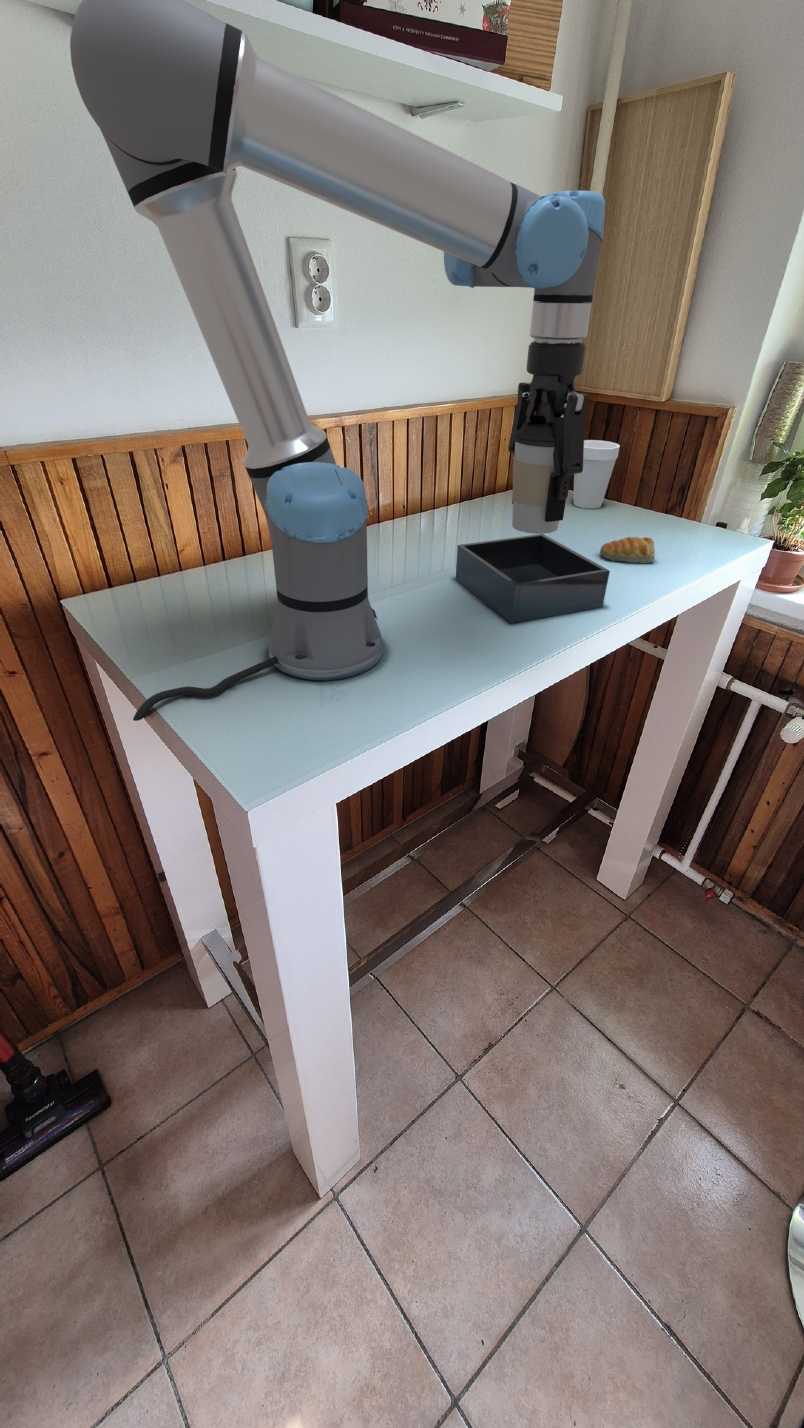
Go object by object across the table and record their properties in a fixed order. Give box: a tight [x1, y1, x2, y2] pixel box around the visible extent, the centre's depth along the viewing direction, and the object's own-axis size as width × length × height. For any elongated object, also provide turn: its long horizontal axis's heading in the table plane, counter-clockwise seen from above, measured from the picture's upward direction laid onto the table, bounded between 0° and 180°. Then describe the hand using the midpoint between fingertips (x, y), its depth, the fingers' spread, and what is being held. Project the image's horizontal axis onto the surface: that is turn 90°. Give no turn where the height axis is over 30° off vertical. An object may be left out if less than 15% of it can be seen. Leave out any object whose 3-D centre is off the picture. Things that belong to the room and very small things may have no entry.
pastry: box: [599, 536, 656, 564], centre depth 119 cm, size 9×7×4 cm
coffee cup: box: [511, 420, 563, 535], centre depth 95 cm, size 9×9×15 cm
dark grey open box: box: [455, 534, 611, 625], centre depth 104 cm, size 17×19×6 cm
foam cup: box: [572, 439, 621, 509], centre depth 145 cm, size 10×9×13 cm
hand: (536, 511), depth 98 cm, fingers closed on coffee cup, 9 cm apart
